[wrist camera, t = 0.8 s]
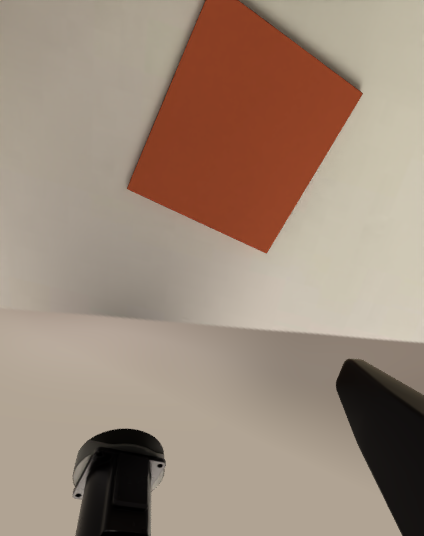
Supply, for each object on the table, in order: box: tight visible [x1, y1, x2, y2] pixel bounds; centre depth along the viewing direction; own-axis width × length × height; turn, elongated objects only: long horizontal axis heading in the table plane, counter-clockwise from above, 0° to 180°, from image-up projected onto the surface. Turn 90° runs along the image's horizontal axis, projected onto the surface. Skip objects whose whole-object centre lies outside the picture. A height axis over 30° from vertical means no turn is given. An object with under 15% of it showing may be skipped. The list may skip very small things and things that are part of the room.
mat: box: [127, 0, 363, 253], centre depth 19 cm, size 11×10×1 cm
